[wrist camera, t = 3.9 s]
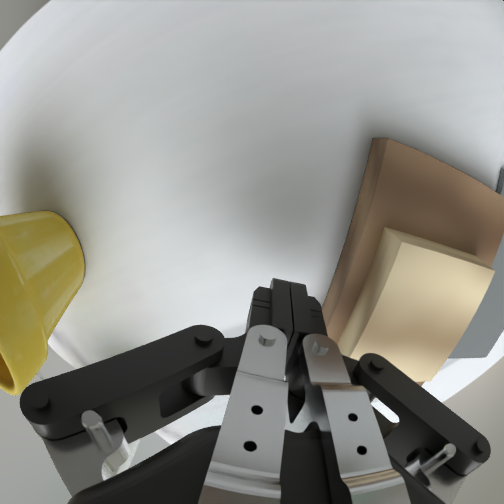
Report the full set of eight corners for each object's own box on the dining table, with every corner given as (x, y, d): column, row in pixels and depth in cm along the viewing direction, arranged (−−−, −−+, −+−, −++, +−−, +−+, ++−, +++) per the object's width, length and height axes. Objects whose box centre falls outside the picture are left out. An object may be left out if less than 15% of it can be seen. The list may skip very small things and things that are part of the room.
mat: (501, 168, 11) (505, 170, 11) (547, 208, 11) (551, 209, 11) (425, 354, 17) (427, 358, 16) (483, 354, 17) (485, 357, 16)
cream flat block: (384, 226, 12) (401, 242, 10) (476, 256, 12) (495, 271, 10) (331, 355, 15) (336, 379, 13) (420, 361, 15) (430, 381, 13)
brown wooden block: (372, 138, 12) (387, 138, 10) (493, 195, 12) (512, 203, 10) (295, 372, 18) (296, 393, 16) (405, 379, 18) (412, 396, 16)
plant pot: (3, 222, 15) (-77, 269, 6) (61, 154, 13) (-66, 189, 4) (58, 322, 19) (-4, 394, 10) (132, 291, 16) (48, 401, 7)
